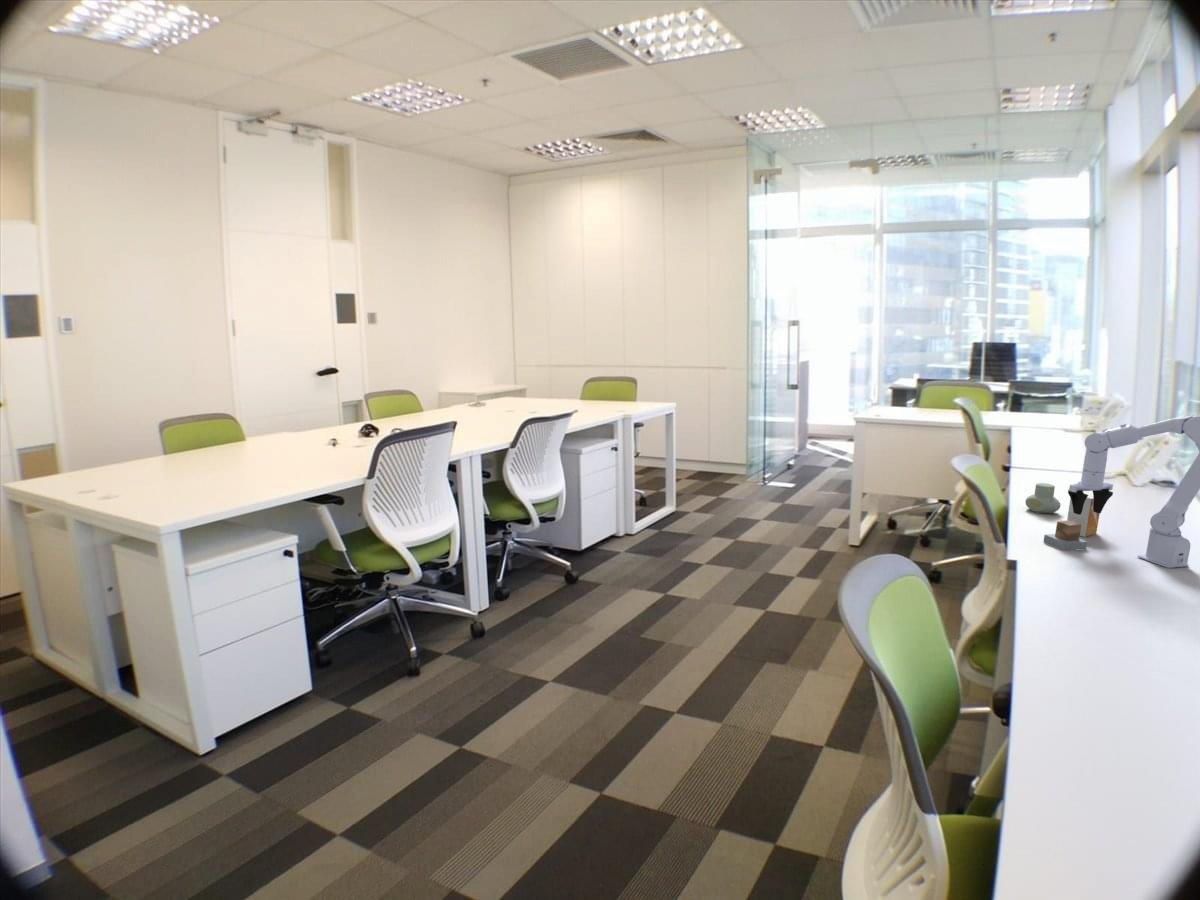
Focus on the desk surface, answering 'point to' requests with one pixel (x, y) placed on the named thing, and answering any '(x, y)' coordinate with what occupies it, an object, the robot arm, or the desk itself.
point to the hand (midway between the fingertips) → (1087, 513)
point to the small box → (1085, 516)
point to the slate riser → (1064, 543)
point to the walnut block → (1068, 530)
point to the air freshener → (1043, 499)
